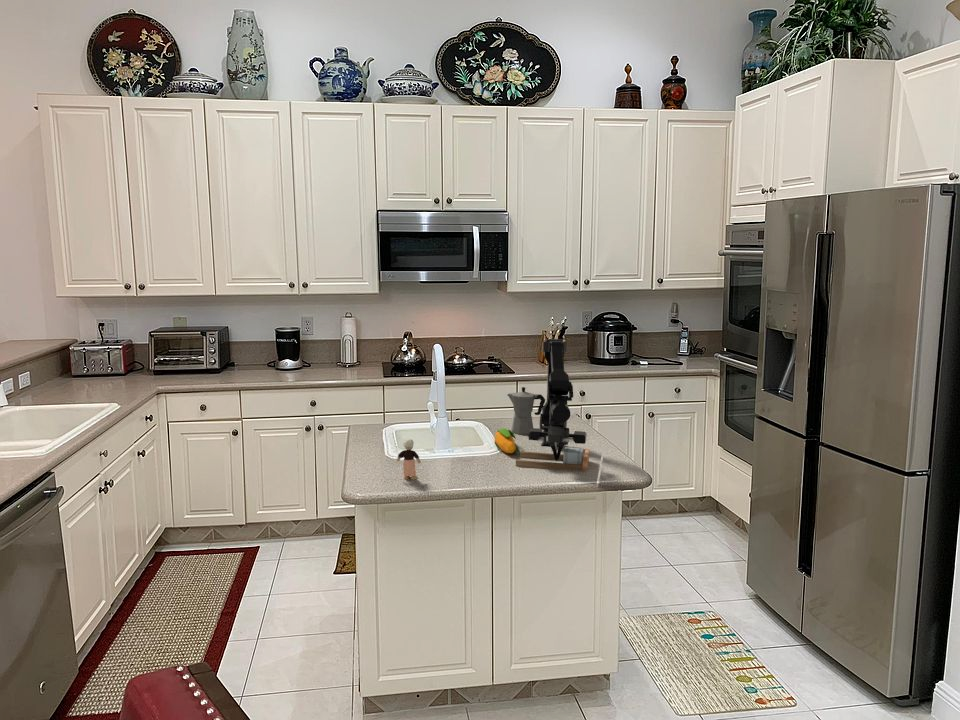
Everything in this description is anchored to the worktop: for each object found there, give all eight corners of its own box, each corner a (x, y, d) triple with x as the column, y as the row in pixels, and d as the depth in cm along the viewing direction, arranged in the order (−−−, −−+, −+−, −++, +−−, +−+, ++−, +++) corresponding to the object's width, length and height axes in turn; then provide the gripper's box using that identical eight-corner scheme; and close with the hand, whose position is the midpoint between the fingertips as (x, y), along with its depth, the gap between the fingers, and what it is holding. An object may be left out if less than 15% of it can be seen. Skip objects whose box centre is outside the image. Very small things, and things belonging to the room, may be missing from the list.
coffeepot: (503, 433, 280) (503, 388, 277) (510, 427, 289) (511, 383, 286) (541, 437, 275) (542, 391, 272) (547, 431, 284) (548, 386, 281)
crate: (564, 461, 241) (565, 446, 240) (582, 462, 240) (583, 448, 239) (562, 466, 235) (563, 451, 235) (581, 468, 234) (581, 453, 233)
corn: (510, 423, 264) (523, 437, 245) (511, 443, 265) (524, 459, 246) (491, 425, 263) (502, 440, 243) (492, 445, 264) (503, 461, 245)
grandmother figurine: (421, 476, 227) (421, 437, 225) (420, 480, 223) (420, 440, 221) (396, 476, 227) (396, 437, 225) (395, 480, 223) (395, 440, 221)
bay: (521, 458, 247) (521, 444, 246) (588, 463, 242) (589, 449, 242) (515, 468, 236) (515, 453, 235) (586, 473, 231) (586, 458, 231)
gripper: (526, 419, 230) (525, 465, 233) (584, 422, 226) (583, 470, 229) (531, 411, 241) (530, 456, 244) (587, 414, 237) (585, 460, 240)
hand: (556, 460), depth 239 cm, fingers closed
